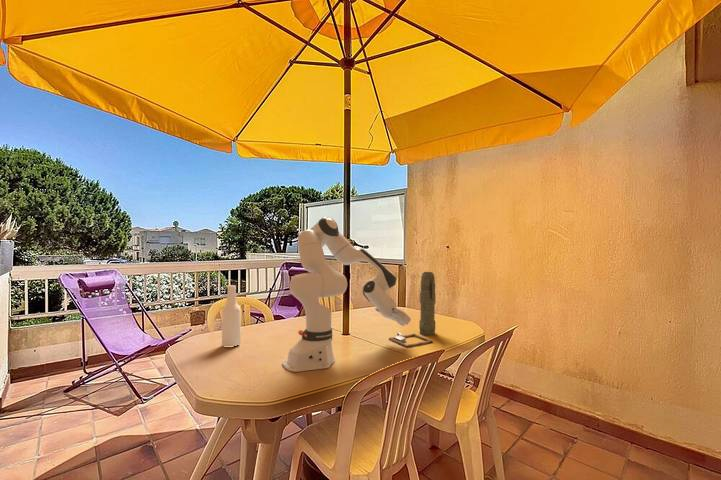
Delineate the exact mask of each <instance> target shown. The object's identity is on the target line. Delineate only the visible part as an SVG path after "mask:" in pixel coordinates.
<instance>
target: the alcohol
mask: <svg viewBox="0 0 721 480" xmlns="http://www.w3.org/2000/svg"><path fill="white" fill-rule="evenodd" d="M236 287H237V285H235V284H230V285H227V295H226V303H225V305H224V306H223V307H222V309H221V310H222V311H221V346H222V345H223V346H237V345H239V344H240V345H241V343H242V328H241V327H242V309H241V306H240V305H239V304H238V301H237V292H236V291H237V288H236ZM240 345H239V346H240ZM223 346H222V347H223Z"/></svg>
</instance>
